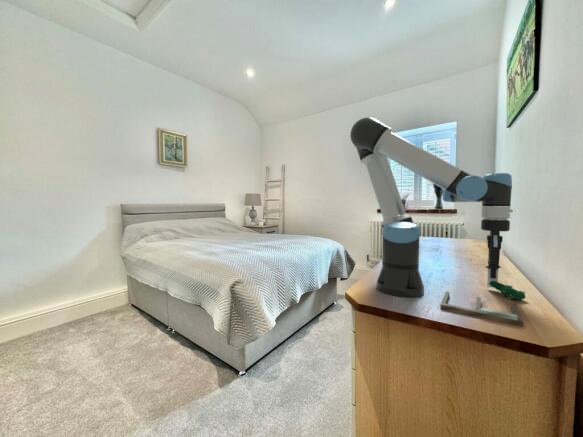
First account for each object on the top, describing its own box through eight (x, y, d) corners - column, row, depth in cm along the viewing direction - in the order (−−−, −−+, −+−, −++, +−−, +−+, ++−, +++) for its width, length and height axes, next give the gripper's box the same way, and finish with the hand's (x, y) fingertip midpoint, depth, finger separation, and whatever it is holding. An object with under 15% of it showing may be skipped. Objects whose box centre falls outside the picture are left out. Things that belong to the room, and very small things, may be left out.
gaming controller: (506, 301, 75) (528, 302, 74) (507, 288, 75) (529, 290, 74) (488, 290, 84) (507, 292, 83) (488, 280, 84) (508, 281, 83)
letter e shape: (440, 309, 69) (440, 301, 69) (445, 295, 80) (445, 288, 80) (522, 327, 59) (522, 318, 59) (515, 309, 70) (516, 301, 69)
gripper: (512, 220, 76) (508, 294, 78) (507, 218, 87) (504, 284, 88) (482, 219, 81) (478, 289, 82) (481, 218, 91) (478, 280, 92)
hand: (492, 286), depth 85 cm, fingers closed
